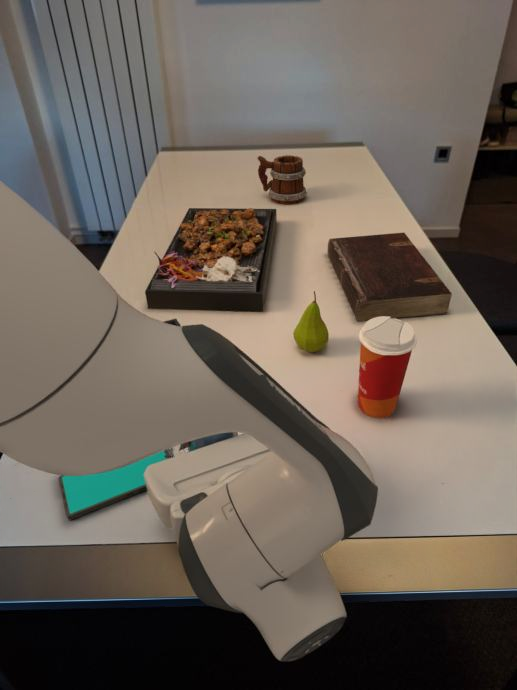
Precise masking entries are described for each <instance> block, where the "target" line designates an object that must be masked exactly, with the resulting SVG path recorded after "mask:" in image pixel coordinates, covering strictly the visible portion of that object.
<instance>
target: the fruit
mask: <svg viewBox="0 0 517 690" xmlns="http://www.w3.org/2000/svg"><path fill="white" fill-rule="evenodd" d="M313 296H314V298H313V301H311V303H309V304H308V305H307V307H306V308H305V310H304V311H303V313H302V315H301V317H300V319H299V321H298V323H297V324H296V327H295V328H294V330H293V333H292V334H293V339H294V341H295V343H296V345H297V347H298V348H299V349H301V350H303V351H305V352H309V353H315V352H318V351H321V350H323V349H325V347H326V345H327V343H328V341H329V330H328V327H327V325H326V323H325V322H324V320H323V318H322V316H321V309H320V306H319V305H318V302H317V296H316V291H315V290H314V291H313Z"/></svg>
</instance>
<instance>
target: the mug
mask: <svg viewBox="0 0 517 690" xmlns="http://www.w3.org/2000/svg"><path fill="white" fill-rule="evenodd" d="M257 160H258V162H259V165H258V168H257V175H258V178H259V181H260V184H261V185H262V188H263V189H262V190H263V191H264V192H268V195H269V197H270V200H271V201H272V202H273V203H277V204H281V205H295V204H299V203H301V202H303V201H304V200H305V198H306V196H307V194H308V191H307V188H306V187H305V186H304V178H305V175H306V174H307V171H306V169H305V167H304V160H303V158H302V157H300V156H298V155H290V154H289V155H282V156H281V155H280V156H277V157H275V158H274V159H273V161H269V160H267V159H266V158H265V157H264V156H262V155H259V156H257ZM267 169H270V172H269V175H270V176H271V178H272V179H271V180H269V181H268V179H269V177H268V175H267V174H266V172H267Z"/></svg>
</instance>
